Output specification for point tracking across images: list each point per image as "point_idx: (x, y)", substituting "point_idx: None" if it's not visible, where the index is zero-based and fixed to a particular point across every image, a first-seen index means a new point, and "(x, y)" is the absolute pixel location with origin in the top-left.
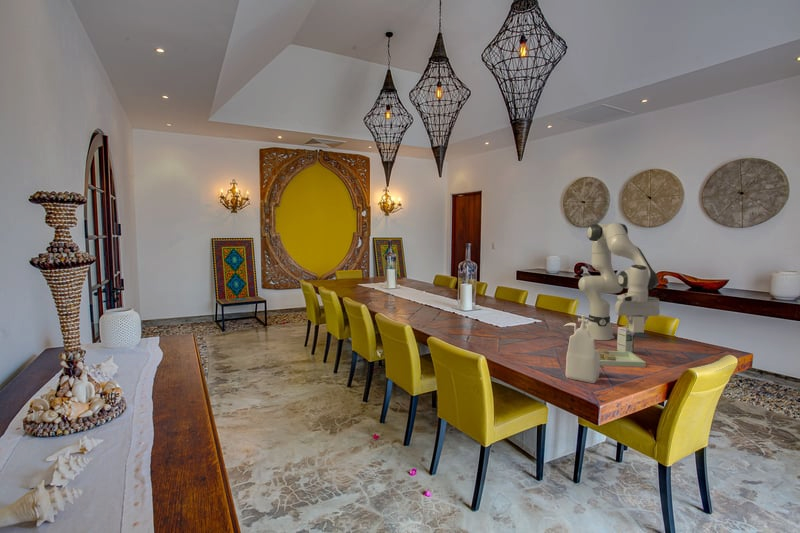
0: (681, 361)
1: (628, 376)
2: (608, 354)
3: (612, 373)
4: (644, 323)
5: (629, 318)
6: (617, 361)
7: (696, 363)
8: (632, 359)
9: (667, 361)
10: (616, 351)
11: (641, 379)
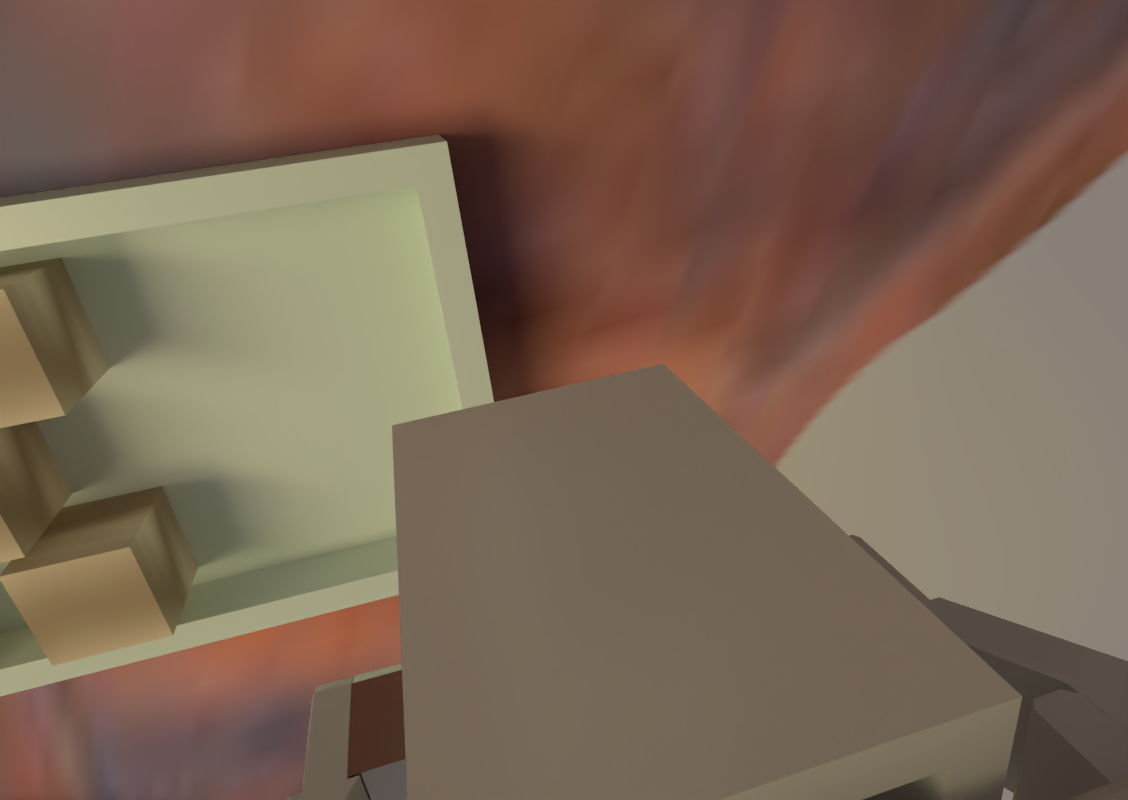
0: (992, 111)
1: (307, 737)
2: (64, 573)
3: (162, 727)
4: None
5: (407, 710)
6: (201, 644)
7: (1090, 149)
8: (438, 299)
9: (846, 154)
10: (220, 193)
11: None
